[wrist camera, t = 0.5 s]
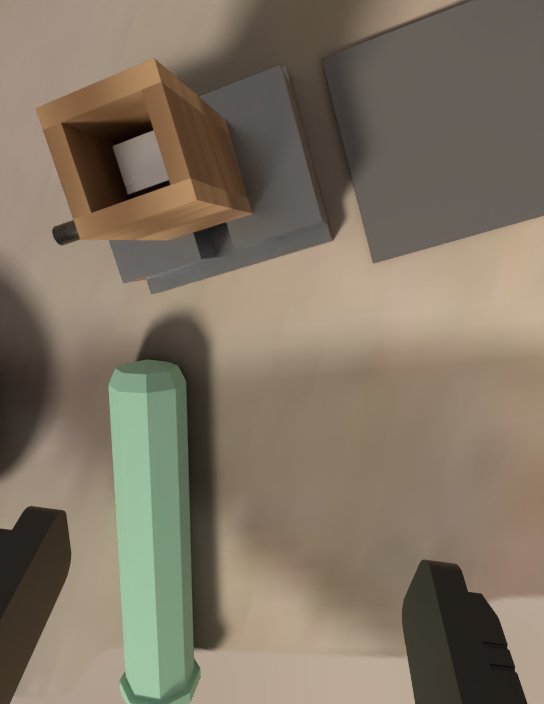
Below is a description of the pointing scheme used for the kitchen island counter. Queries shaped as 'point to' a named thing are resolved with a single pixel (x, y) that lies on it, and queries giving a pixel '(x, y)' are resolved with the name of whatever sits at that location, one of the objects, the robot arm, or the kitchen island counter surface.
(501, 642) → the robot arm
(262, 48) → the kitchen island counter surface
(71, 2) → the kitchen island counter surface
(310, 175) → the vise
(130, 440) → the pale green hexagonal rod
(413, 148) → the mat
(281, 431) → the kitchen island counter surface
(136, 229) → the sleeve
